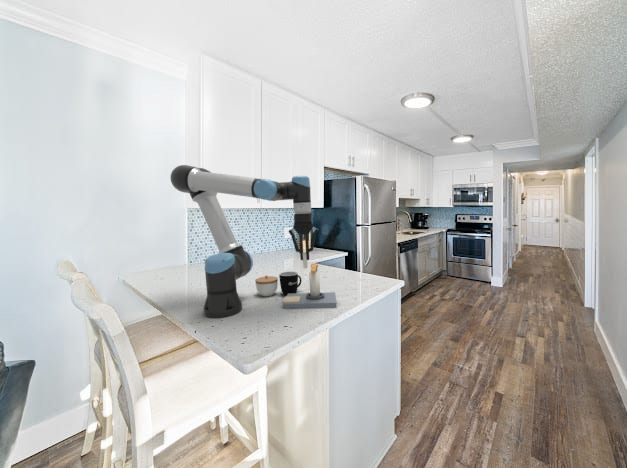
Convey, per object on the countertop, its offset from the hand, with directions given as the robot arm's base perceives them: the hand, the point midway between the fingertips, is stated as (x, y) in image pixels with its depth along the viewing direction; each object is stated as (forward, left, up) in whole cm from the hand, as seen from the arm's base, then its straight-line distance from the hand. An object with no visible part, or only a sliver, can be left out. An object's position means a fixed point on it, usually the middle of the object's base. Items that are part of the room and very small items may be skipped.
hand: (305, 267), depth 119 cm
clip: (+4, 0, -1) cm, 4 cm away
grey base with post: (+2, 0, -16) cm, 16 cm away
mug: (-8, +14, -16) cm, 23 cm away
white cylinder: (+4, +1, -14) cm, 14 cm away
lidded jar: (-20, +13, -16) cm, 29 cm away
